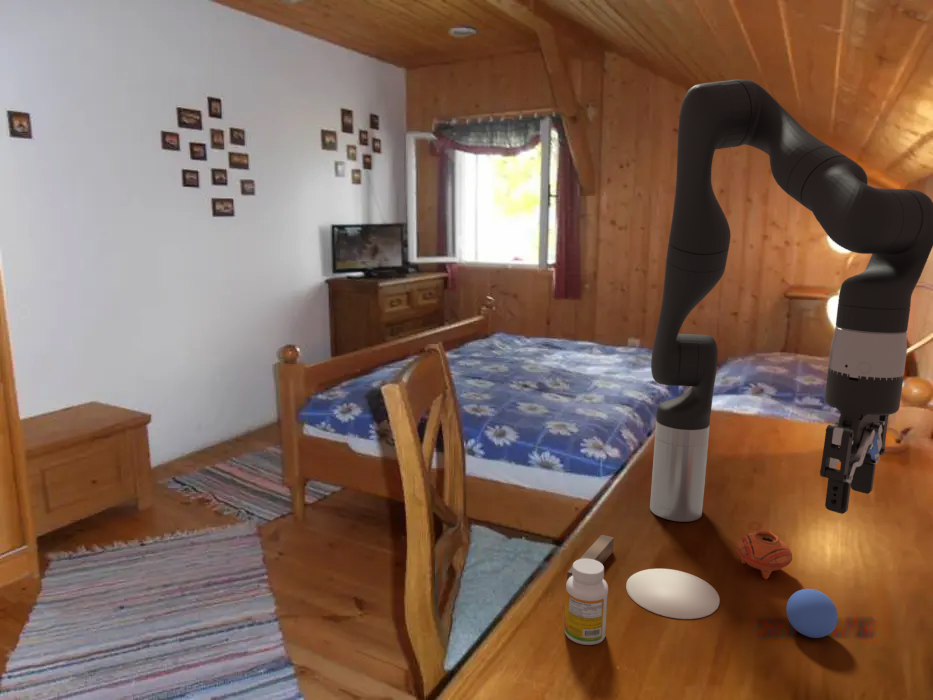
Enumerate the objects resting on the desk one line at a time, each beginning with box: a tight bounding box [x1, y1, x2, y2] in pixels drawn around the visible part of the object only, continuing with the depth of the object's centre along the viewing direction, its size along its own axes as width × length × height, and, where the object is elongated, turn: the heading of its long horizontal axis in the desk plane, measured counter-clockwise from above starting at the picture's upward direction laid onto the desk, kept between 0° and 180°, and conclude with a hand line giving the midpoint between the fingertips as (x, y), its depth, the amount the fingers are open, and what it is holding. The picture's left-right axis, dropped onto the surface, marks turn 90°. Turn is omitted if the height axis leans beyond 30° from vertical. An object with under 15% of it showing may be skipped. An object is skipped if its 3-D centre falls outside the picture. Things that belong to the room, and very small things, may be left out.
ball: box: [786, 588, 839, 639], centre depth 89 cm, size 6×6×6 cm
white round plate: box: [625, 568, 721, 620], centre depth 99 cm, size 13×13×1 cm
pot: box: [736, 529, 793, 580], centre depth 105 cm, size 8×8×7 cm
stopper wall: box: [566, 534, 615, 581], centre depth 105 cm, size 14×2×2 cm, turn 148°
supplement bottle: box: [563, 558, 609, 646], centre depth 88 cm, size 5×5×10 cm
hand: (848, 500), depth 81 cm, fingers open, 8 cm apart
